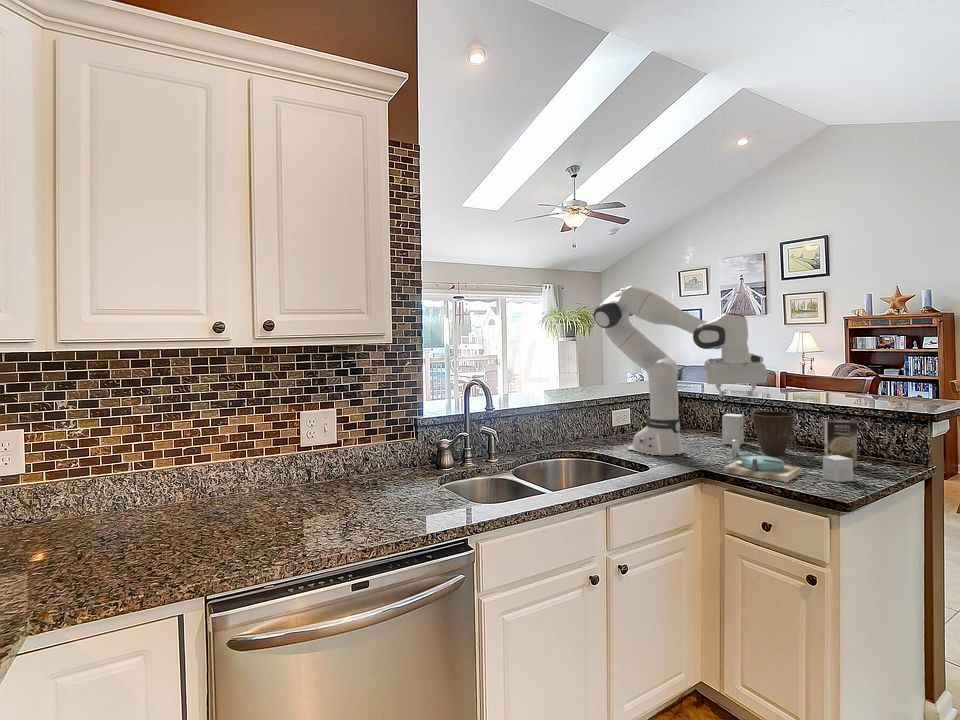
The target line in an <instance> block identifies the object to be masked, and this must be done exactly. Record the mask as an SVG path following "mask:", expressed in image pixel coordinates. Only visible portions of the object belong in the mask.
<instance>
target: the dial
mask: <svg viewBox="0 0 960 720" xmlns="http://www.w3.org/2000/svg"><path fill="white" fill-rule="evenodd" d="M740 447H741V445H740V446H739V440H732V445H731V450H732V451H731V457H732V460H734V461H738V460H739V461H742V466H744V467H746V468H749V469H753V459H757V470H761V471H777V470H782V469H784V465H785V461H784V460H783V459H780V458H777V457H771V456H765V455H764V456H762V455H752V456H745V457H744V456H741V455H740V451H741V450H740Z"/></svg>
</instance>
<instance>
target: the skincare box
mask: <svg viewBox="0 0 960 720" xmlns="http://www.w3.org/2000/svg"><path fill="white" fill-rule="evenodd" d="M822 478H823V479H825V480H828V481H833V482H835V483H844V482H846V481H847V482H853V481H854V468H853V459H851V458H847V457H843V456H839V455H833V456H824V455H822Z"/></svg>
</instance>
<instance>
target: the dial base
mask: <svg viewBox="0 0 960 720" xmlns="http://www.w3.org/2000/svg"><path fill="white" fill-rule="evenodd" d="M723 468H724V473H726V474H732V475H739V476H743V475H744V476H745V477H751V478H756V477H757V479H762V478H765V479H764V480H768V479H771V480H770V481H775V480H776V482H781V481H783V482H782V483H789V482H790V481H791V480H793V479H794V477H795V478H796V477H798V476H799V475H801V474H802V468H801V467H800V466H792V465H785V464H784V469H782V470H777V471H761V470H757V459H753V469H749V468H746V467H744V466H742V461H739V460H734V461H733V462H732V463H729V464H727V465H725V466H724V467H723ZM797 475H798V476H797ZM744 476H743V477H744ZM789 480H790V481H789Z"/></svg>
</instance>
